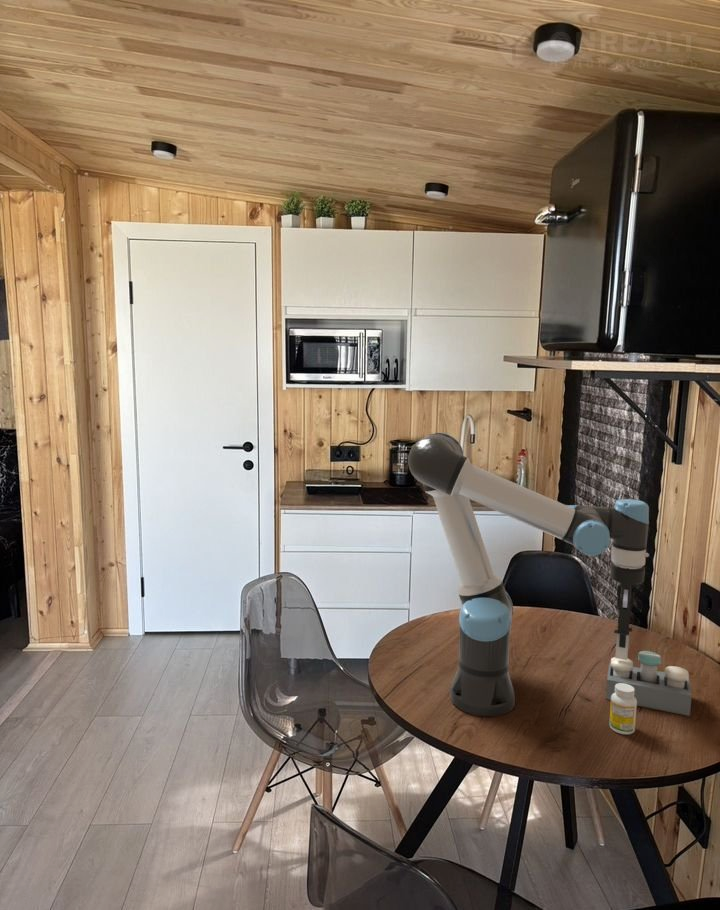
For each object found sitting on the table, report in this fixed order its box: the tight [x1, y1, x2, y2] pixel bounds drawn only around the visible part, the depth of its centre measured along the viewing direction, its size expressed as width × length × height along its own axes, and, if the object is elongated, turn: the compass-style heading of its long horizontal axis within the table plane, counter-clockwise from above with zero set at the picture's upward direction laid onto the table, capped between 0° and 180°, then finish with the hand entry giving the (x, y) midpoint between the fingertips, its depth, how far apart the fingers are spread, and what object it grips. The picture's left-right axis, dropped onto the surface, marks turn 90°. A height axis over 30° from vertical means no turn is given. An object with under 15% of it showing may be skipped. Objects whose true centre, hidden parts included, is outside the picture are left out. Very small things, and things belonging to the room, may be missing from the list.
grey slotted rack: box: [605, 661, 692, 717], centre depth 153 cm, size 10×18×5 cm, turn 66°
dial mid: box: [637, 650, 662, 684], centre depth 152 cm, size 5×5×7 cm
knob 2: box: [664, 665, 690, 689], centre depth 150 cm, size 5×5×6 cm
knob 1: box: [610, 656, 634, 679], centre depth 155 cm, size 5×5×6 cm
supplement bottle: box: [609, 683, 638, 736], centre depth 139 cm, size 5×5×10 cm
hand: (621, 657), depth 154 cm, fingers closed
